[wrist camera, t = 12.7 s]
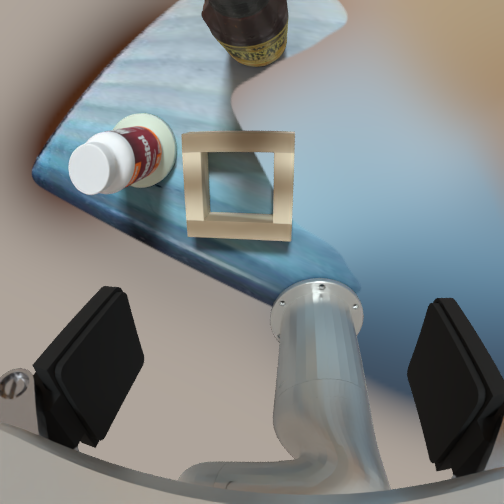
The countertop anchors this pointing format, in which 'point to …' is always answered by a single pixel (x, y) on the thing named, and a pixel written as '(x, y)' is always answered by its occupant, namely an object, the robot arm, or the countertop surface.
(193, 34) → the countertop surface
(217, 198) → the countertop surface
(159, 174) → the saucer
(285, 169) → the wooden square frame
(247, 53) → the sauce bottle
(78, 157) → the pill bottle
